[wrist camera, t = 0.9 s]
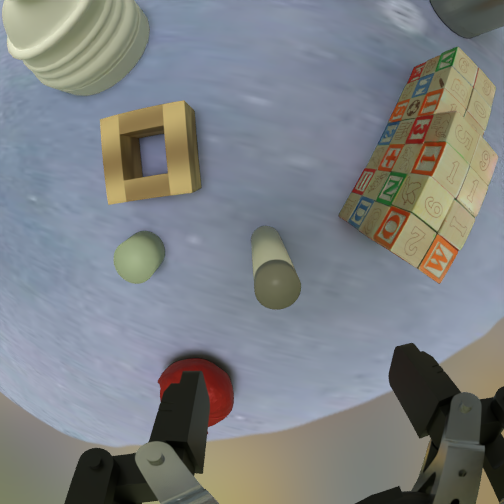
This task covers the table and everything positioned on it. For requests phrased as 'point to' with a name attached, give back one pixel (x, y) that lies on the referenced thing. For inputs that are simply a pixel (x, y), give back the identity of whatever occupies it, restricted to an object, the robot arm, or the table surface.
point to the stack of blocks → (429, 166)
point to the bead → (139, 257)
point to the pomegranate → (215, 384)
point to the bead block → (129, 160)
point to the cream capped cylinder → (273, 270)
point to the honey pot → (76, 41)
